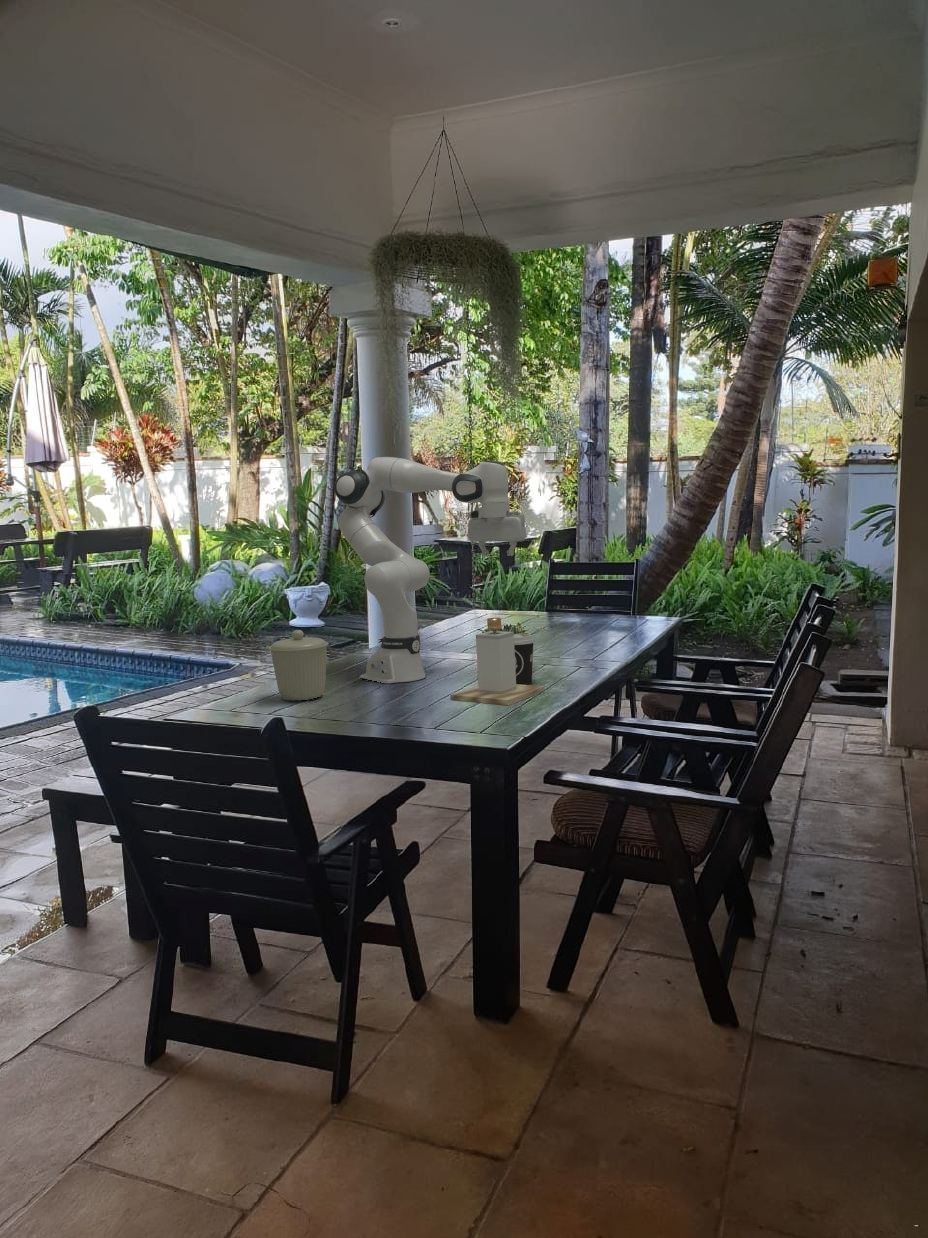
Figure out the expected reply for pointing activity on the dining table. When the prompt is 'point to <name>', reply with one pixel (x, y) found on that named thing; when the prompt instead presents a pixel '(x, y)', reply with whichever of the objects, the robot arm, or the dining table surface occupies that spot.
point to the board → (497, 695)
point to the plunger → (494, 624)
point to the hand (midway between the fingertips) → (497, 555)
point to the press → (496, 662)
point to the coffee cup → (523, 658)
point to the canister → (300, 666)
